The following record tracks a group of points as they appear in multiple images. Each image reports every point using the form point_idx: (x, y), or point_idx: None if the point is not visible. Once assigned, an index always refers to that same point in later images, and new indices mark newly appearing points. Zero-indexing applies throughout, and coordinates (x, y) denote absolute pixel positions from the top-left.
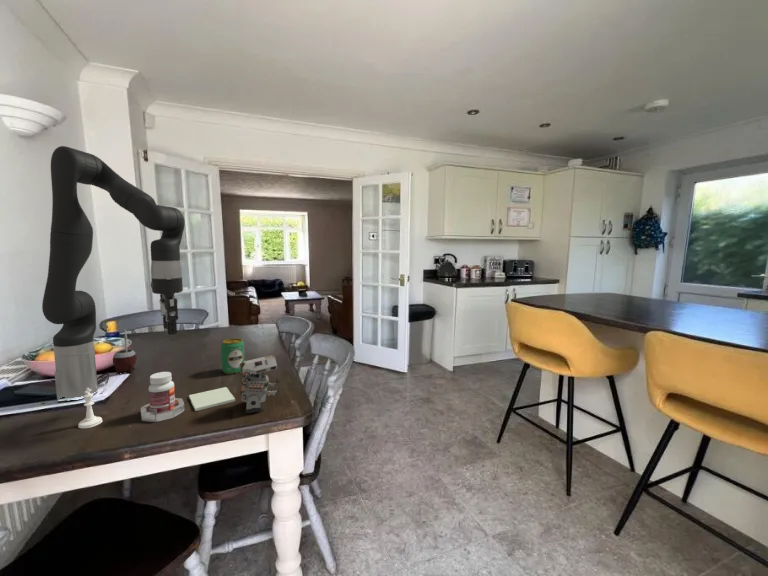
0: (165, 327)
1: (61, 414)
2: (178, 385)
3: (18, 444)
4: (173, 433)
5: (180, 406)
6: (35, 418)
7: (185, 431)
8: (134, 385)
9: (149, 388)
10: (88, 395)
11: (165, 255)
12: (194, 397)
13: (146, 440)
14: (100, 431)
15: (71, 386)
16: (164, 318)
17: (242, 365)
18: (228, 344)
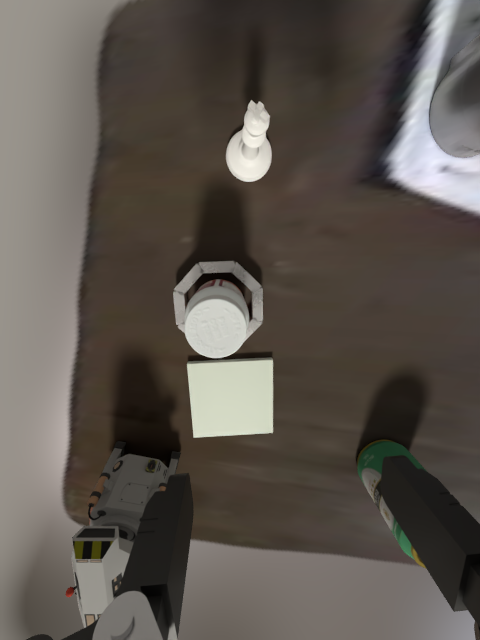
0: (390, 467)
1: (354, 81)
2: (367, 342)
3: (220, 4)
4: (103, 315)
5: None
6: (369, 16)
7: (100, 336)
8: (444, 247)
9: (206, 289)
10: (247, 120)
11: None
12: (251, 368)
13: (97, 268)
14: (191, 180)
15: (473, 67)
16: (450, 542)
17: (86, 548)
18: None
